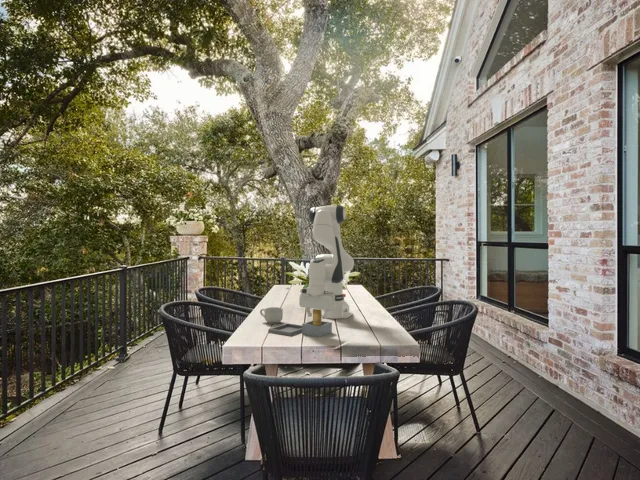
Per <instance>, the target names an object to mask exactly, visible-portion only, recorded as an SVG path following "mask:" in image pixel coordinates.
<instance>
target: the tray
mask: <svg viewBox="0 0 640 480" xmlns="http://www.w3.org/2000/svg"><path fill="white" fill-rule="evenodd" d="M300 333H301V334H302V324H294V323H288V322H287V323H283V324H280V325H278V326H273V327H270V328H268V334H277V335H283V336H288V337H292V336H294V335H295V336H296V335H298V334H300Z"/></svg>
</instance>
